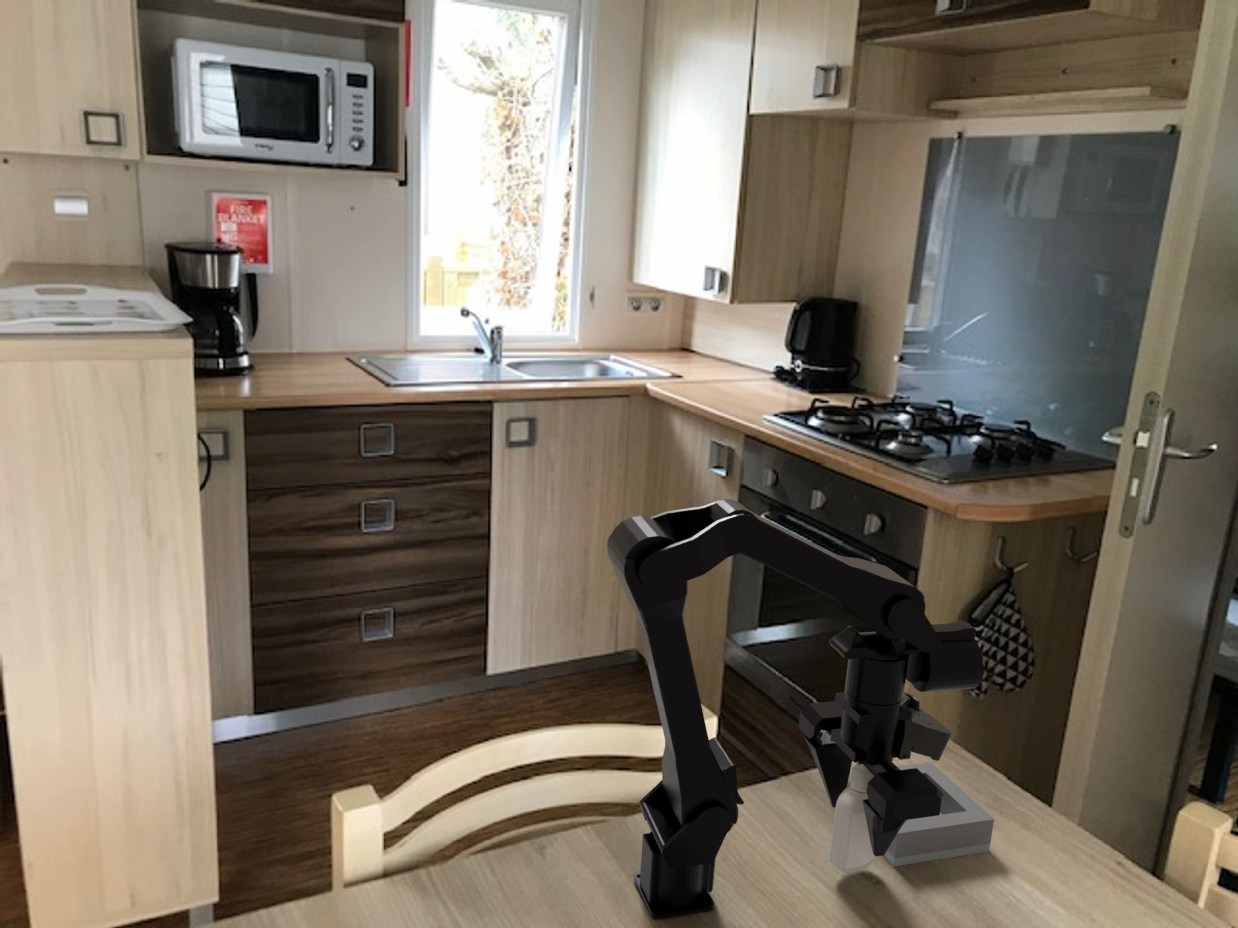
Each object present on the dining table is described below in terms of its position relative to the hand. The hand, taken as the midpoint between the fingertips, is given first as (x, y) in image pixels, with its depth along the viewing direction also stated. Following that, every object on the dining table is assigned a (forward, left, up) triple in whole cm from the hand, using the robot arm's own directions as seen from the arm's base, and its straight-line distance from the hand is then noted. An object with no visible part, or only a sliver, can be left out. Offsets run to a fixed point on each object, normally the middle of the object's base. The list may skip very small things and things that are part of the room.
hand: (856, 829), depth 105 cm
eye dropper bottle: (0, 0, -4) cm, 4 cm away
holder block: (+11, +6, -5) cm, 14 cm away
